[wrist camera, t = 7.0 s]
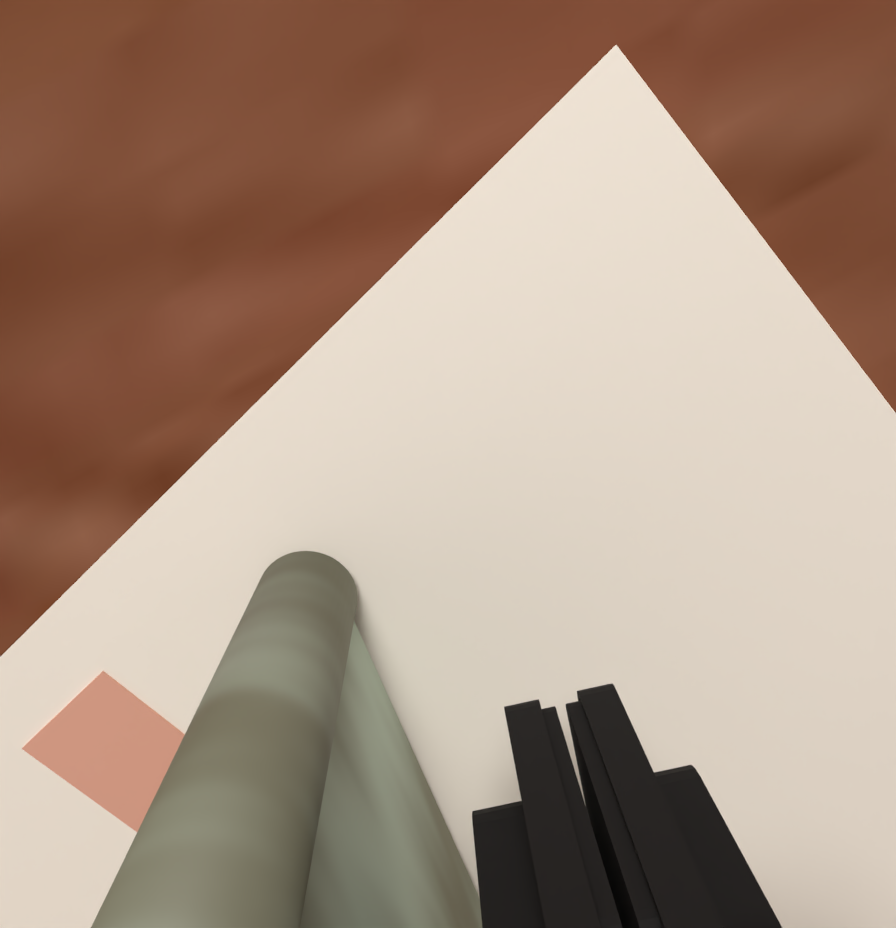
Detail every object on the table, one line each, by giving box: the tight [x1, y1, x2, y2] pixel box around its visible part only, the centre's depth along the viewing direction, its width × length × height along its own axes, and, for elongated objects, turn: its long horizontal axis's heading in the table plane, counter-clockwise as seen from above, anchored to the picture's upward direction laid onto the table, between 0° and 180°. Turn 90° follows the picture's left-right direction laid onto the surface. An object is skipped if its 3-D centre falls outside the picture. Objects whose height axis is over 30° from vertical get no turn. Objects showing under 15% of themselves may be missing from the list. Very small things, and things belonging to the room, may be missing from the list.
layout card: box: [0, 45, 896, 928], centre depth 16 cm, size 29×20×1 cm
